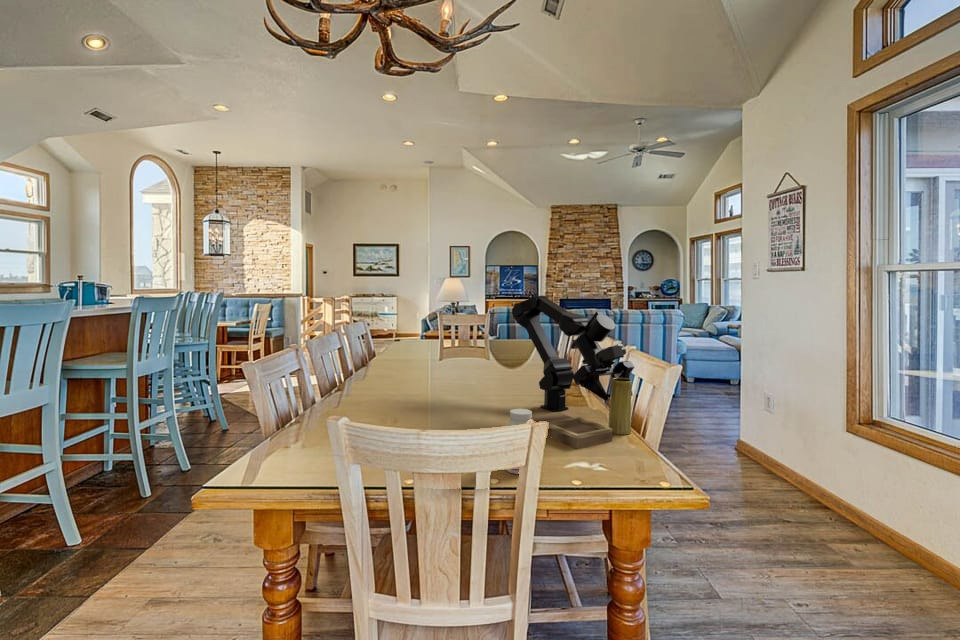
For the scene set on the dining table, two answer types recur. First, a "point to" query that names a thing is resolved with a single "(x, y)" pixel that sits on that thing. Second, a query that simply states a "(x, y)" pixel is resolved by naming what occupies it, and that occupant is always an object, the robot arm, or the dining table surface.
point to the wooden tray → (575, 430)
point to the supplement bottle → (518, 418)
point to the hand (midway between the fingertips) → (619, 398)
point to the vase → (620, 406)
